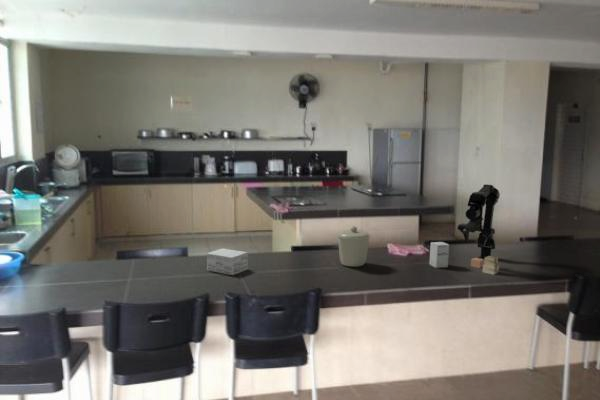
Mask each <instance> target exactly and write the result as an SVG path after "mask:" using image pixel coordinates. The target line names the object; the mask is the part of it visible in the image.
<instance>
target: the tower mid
mask: <svg viewBox="0 0 600 400" xmlns="http://www.w3.org/2000/svg"><path fill="white" fill-rule="evenodd" d="M498 259H499V257H496V256H492V255H491V256H487V257H485V259H484V265H486V266H491V267H494V266H497V265H499V263H498V262H499V260H498Z"/></svg>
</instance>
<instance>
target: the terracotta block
mask: <svg viewBox="0 0 600 400" xmlns="http://www.w3.org/2000/svg"><path fill="white" fill-rule="evenodd" d="M483 265H484V259H481V258H478V257H474V258H471V259H470V267H473V268H478V269H481V268H483Z"/></svg>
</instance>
